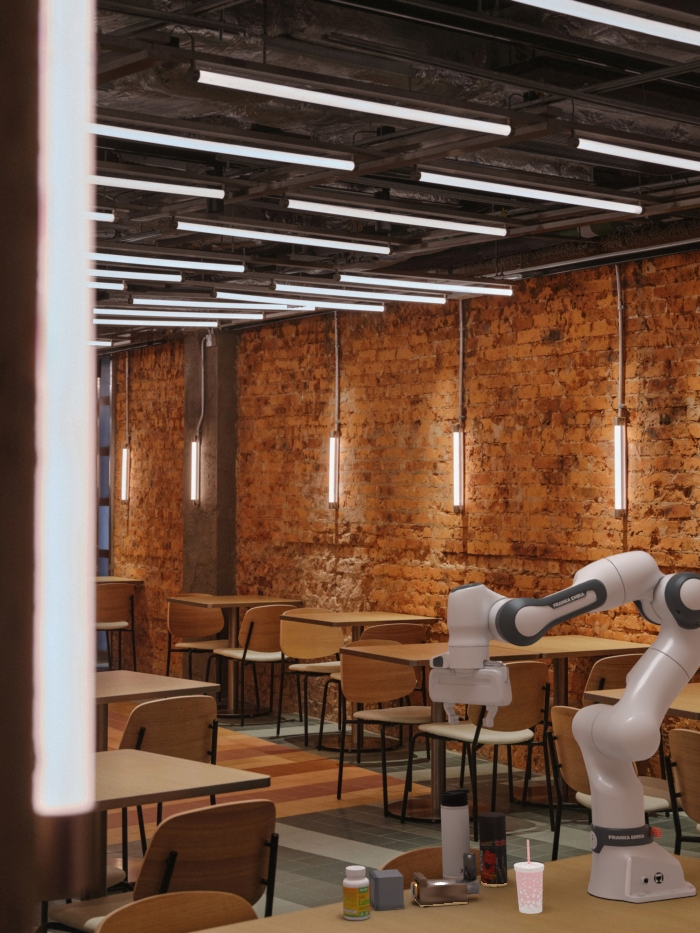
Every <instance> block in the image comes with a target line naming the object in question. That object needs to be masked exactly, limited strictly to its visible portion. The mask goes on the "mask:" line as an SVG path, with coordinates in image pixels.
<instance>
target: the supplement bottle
mask: <svg viewBox="0 0 700 933" xmlns="http://www.w3.org/2000/svg"><path fill="white" fill-rule="evenodd" d="M366 873H367V871H366V867H365V866H363V865H349V866H346V867H345V876H346V877H345V878H344V879H343V881H342V903H343V904H342V909H343V911H342V912H343V918H344V919H345V920H347V921H365V920H367V919H369V918H370V916H371V904H370V888H369V878H367V877H366Z"/></svg>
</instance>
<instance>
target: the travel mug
mask: <svg viewBox="0 0 700 933" xmlns="http://www.w3.org/2000/svg"><path fill="white" fill-rule="evenodd" d="M441 793H442V794H440V820H441V821H440V824H441V825H440V826H441V854H442V856H441V857H442V859H441V860H442V879H444V878H461V879H464V876H463V853H471V843H470V842H471V841H470V840H471V839H470V838H471V837H470V815H469V814H470V813H469V812H470V809H469V797H468V794H470V788H465V789H454V790H448V791H444V792H441Z"/></svg>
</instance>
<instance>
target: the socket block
mask: <svg viewBox="0 0 700 933" xmlns="http://www.w3.org/2000/svg"><path fill="white" fill-rule="evenodd" d="M368 880H369V888H370V906H371V907H372V908H373V909H374V911H375V912H377V911H379V912H380V911H389V910H391V911H393V910H392V909H394V910H398V909H397V908H404V909H405V896H404V895H405V894H404V889H405V888H404V886H405V885H404V875H403V874H402V873H401V872H400V871H399V869H381V870H380V869H379V870H369V871H368Z"/></svg>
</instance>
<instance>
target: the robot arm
mask: <svg viewBox="0 0 700 933" xmlns="http://www.w3.org/2000/svg"><path fill="white" fill-rule="evenodd" d="M654 558H655V557H653V556H652V555H651V554H649V553H648V552H646V551H644V550H634V551H627V552H622V553H617V554H613V555H610V556H607V557H604V558H601V559H598V560H595V561H593V562H591V563H589V564H587V565H586V566H584V567H581V568H580V569H579V570H578V571H576V573H575V575H574V577H573V579H572V580H573V581H572V585H570V586H568V587H566V588H565V589H562V590H560V591H557V592H555V593H551V594H549V595H545V596H543V597H542V598H533V597H532V598H531V597H516V598H512V597H510V598H509V597H507V596H504V595H501V594H499V593H498V592H495V591H493V590H491V589H490V588H489V587H486V586H485V584H484V583H481V582H472V583H467V584H461V585H458V586H455V587H453V588H452V589H451V590H450V591H449V595H448V599H447V607H446V608H447V611H446V612H447V614H446V621H447V622H446V624H447V629H448V635H449V638H448V642H447V651H445V652H443V653H441V654H438V655H435V656H432V657H431V658H430V659H429V666H430V668H432V669H431V670H430V672H429V675H428V693H429V697H430V699H431V701H432V702H433V703H443V709H444V712H445V713H446V714H447V716H448V717H447V718H448V721H447V722H448V724H449V725H458V724H459V722H460V720H459V719H460V717H459V715H456V712H455V709H454V708H455V707H456V704H461V705H464V704H465V705H479V706H485V707H486V708H485V709H486V711H488V712H487V714H486V716H485V718H482V723H483V724H482V726H483V728H493V727H494V719H495V716H496V715H497V713H498V711H499V708H498V707H505V706H509V705H511V702H513V694H512V684H511V680H510V672H509V667H508V665H506V663H504V661H501V660H490V658H491V657H490V642H491V641H492V640H494V641H495V642H498V643H503V644H510V645H514V646H517V647H530V646H532V645H534V644H536V643H537V642H538V641H540V640H541V639H542V638H543V637H544V635H546V634H547V633H548V632H549V631H550V630H551V629H552V628H554V627H556V626H558V625H560V624H562V623H565V622H568V621H570V620H572V619H575V618H577V617H579V616H581V615H584V614H589V613H590V614H592V613H599V612H600V613H601V612H605V611H609V610H612V609H615V608H619V607H621V606H624V605H627V604H628V603H629V604H630V603H633V605H635V607H636V609H637V611H638V613H639V614H640V616H641V617H642V618H643V620H645V621H646V622H648V623H650V624H652V625H655V626H660V629H659V632H658V635H657V636H656V639H655V640H654V641H653V642H652V644H650V646H649V647H648V649H646V651H645V652H644V653H643V654H642V655H641V657H640V658H639V659H638V660H637V662H636V663H635V664H634V665H633V667H632V668H631V669H630V671H628V673H627V674H626V677H625V683H626V686H625V688H624V691H623V693H622V695H621V697H620V699H619V701H617V702H616V703H615V704H614V705H611V704H605V703H595V704H590V705H587V706H584V707H582V708H580V709H579V710H578V711H577V712H576V713H575V715H574V717H573V718H572V722H571V723H572V724H571V732H572V735H573V738H574V740H575V741H576V743H577V744H578V746H579V748H580V751H581V754H582V758H583V762H584V765H585V769H586V773H587V777H588V781H589V788H590V800H591V801H590V803H591V821H592V822H591V823H590V834H589V836H590V837H589V839H590V846H591V847H590V848H591V850H592V856H591V857H592V859H591V870H590V875H589V882H588V885H587V886H588V887H587V890H586V891H587V892H588V893H589V894H591V896H595V897H599V898H603V899H608V900H619V901H626V902H629V903H638V904H639V903H645V902H646V903H647V902H654V901H661V900H669V899H670V900H671V899H676V898H677V899H678V898H685V897H691V896H693V897H694V896H696V895H697V889H696V887H695V886H694V885H693V884H692V883H691V882H689V881H687V880H686V879H685V874H684V870H683V866H682V865H681V863H680V861H679V860H678V859H677V858H676V857H675V856H673V855H672V854H671V853H670V852H669V851H667V850H666V849H665V848H664V847H662V846H661V845H659V844H658V843H657V842H656V841H654V840H655V838H656V839H660V838H662V836H663V830H662V829H661V828H659V827H656V826H651V825H649V824H647V823H646V818H645V817H646V815H645V798H644V796H645V794H644V787H643V785H642V782H641V781H640V779H639V778H638V776H637V773H636V771H635V768H634V764H633V763H634V762H640V761H646V760H648V759H650V758H651V757H653V755H655V753H657V750H658V749H659V747H660V744H661V730H660V729H661V726H662V723H663V720H664V718H665V716H666V714H667V712H668V710H669V708H670V707H671V706H672V704H673V703H674V701H675V700H676V699H677V698H678V696H679V695H680V694H681V693H682V691H683V690H684V688H685V687H686V686H687V684H688V683H689V682H690V681H691V679H692V678H693V676H695V674H696V672H697V671H698V669H699V668H700V574H699V573H696V572H691V571H680V572H677V573H669V574H665V573H663V572H662V571H661V570H660V569H659V566H658V563H657V562H656V560H655V559H654Z"/></svg>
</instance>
